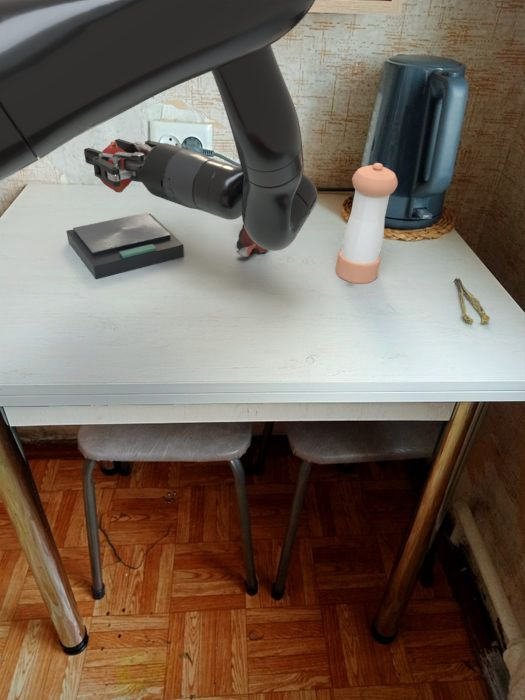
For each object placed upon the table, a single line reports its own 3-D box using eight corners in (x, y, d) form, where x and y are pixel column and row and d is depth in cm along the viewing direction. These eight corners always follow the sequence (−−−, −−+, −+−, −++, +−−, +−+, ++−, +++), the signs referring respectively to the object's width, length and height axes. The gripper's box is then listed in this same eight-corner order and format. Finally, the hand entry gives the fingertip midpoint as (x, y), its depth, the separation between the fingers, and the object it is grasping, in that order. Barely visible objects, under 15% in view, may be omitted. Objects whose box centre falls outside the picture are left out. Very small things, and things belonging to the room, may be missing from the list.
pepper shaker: (361, 259, 93) (383, 153, 81) (385, 279, 88) (412, 169, 76) (327, 266, 91) (345, 157, 79) (350, 286, 86) (372, 174, 74)
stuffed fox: (222, 260, 90) (223, 195, 83) (237, 232, 99) (238, 171, 91) (264, 266, 89) (268, 201, 82) (275, 238, 98) (280, 176, 90)
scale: (95, 279, 83) (92, 262, 81) (68, 242, 92) (65, 226, 90) (184, 256, 90) (183, 240, 88) (151, 224, 99) (149, 209, 97)
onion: (92, 194, 81) (84, 142, 76) (114, 182, 85) (107, 132, 80) (123, 201, 79) (117, 149, 74) (143, 189, 83) (139, 139, 78)
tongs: (461, 281, 89) (465, 272, 88) (488, 328, 80) (493, 318, 78) (438, 281, 89) (441, 271, 88) (462, 328, 80) (467, 318, 78)
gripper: (215, 138, 75) (132, 115, 82) (145, 164, 65) (58, 135, 72) (215, 188, 79) (137, 162, 86) (150, 218, 70) (68, 186, 77)
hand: (102, 150), depth 79 cm, fingers closed on onion, 5 cm apart
